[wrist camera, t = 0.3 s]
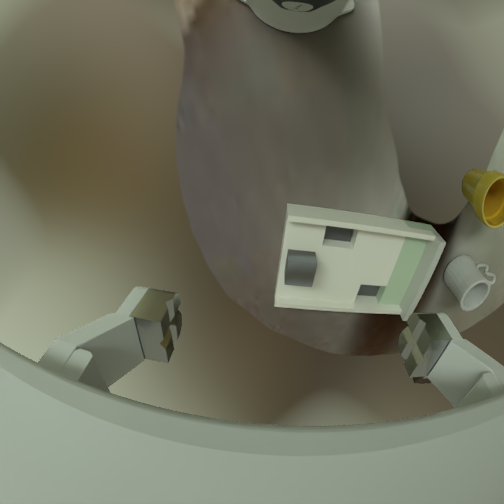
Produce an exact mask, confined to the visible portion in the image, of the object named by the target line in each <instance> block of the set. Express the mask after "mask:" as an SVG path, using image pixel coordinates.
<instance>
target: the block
mask: <svg viewBox="0 0 504 504" xmlns="http://www.w3.org/2000/svg"><path fill="white" fill-rule="evenodd" d="M316 269H317V259H316V254H315V252H311V251H302V250H292V249H288V252H287V258H286V264H285V271H284V283H285V285H293V286H304V287H312V285H313V281H314V277H315V273H316Z"/></svg>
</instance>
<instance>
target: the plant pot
mask: <svg viewBox="0 0 504 504" xmlns="http://www.w3.org/2000/svg"><path fill="white" fill-rule="evenodd" d="M462 192H463V194H464V196H465V197H466V198H467V200H468V201H469V202H470V204H471V205H472V206H473V208H474V211H475V214H476V216H477V217H478V218H479V219H480V220H481V221H482V222H483V223H484V224H485V225H487V226H488V227H490V228H498V227H500V226H502V225H503V224H504V174H502V173H500V172H497V171H489V172H487V171H482V170H477V169H472V170H470V171H468V172H467V173H466V175H465V176H464V179H463V181H462Z"/></svg>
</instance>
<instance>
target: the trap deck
mask: <svg viewBox="0 0 504 504" xmlns="http://www.w3.org/2000/svg"><path fill="white" fill-rule="evenodd" d="M445 244H446V242H445V241H444V240H443V239H442V237H441V236H440V235H439V234H438V233H437V232H436V230H435V229H434V228H433V227H432V226H431V225H428V224H423V223H418V222H412V221H406V220H401V219H395V218H389V217H383V216H377V215H370V214H364V213H357V212H350V211H343V210H336V209H329V208H321V207H313V206H305V205H296V204H288V203H287V210H286V217H285V225H284V232H283V239H282V246H281V253H280V260H279V267H278V273H277V280H276V286H275V301H274V306H275V307H286V308H298V309H310V310H324V311H339V312H356V313H378V314H400V315H401V318H402V320H403V321H407V320H408V318H409V316H410V315H411V314H412V313H413V311H414V309H415V307H416V306H417V304H418V302H419V300H420V298H421V296H422V294H423V292H424V290H425V288H426V286H427V284H428V282H429V280H430V278H431V276H432V274H433V272H434V270H435V267H436V265H437V263H438V261H439V259H440V256H441V254H442V252H443V249H444V247H445ZM288 249H292V250H302V251H311V252H315V254H316V259H317V269H316V273H315V277H314V281H313V285H312V287H304V286H293V285H285V283H284V271H285V264H286V258H287V252H288Z"/></svg>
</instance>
